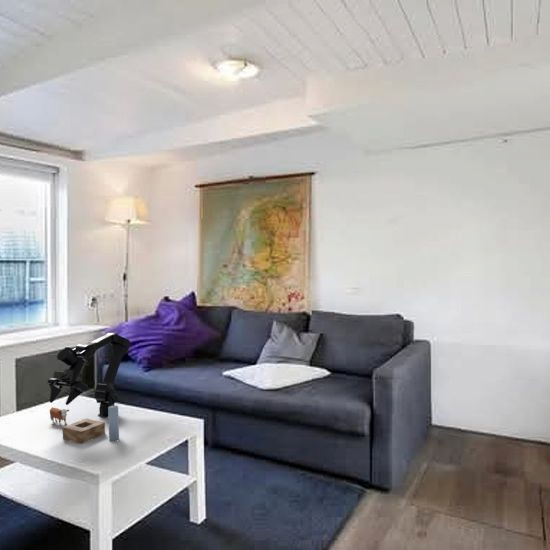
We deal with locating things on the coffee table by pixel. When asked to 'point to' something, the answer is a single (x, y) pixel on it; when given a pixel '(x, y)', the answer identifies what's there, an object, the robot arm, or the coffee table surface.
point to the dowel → (113, 423)
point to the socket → (83, 430)
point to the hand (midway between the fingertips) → (58, 403)
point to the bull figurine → (58, 415)
